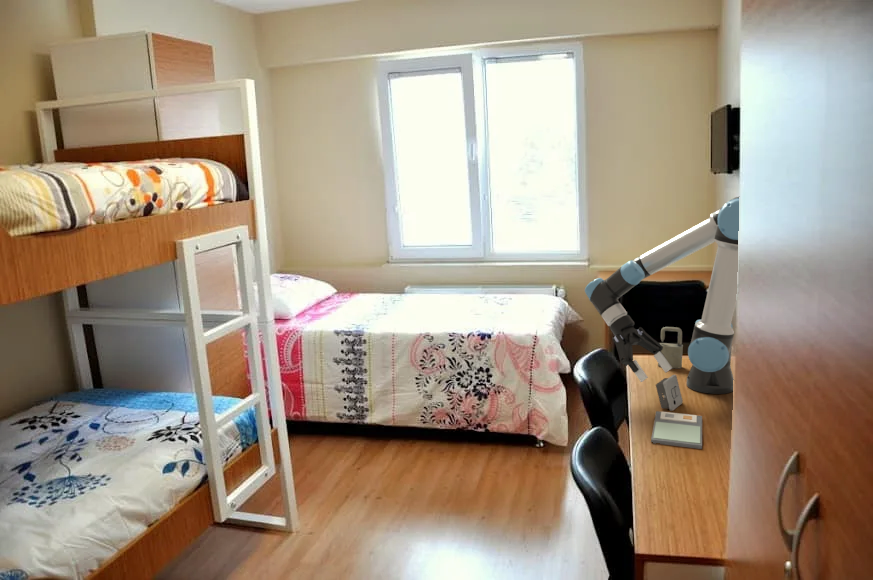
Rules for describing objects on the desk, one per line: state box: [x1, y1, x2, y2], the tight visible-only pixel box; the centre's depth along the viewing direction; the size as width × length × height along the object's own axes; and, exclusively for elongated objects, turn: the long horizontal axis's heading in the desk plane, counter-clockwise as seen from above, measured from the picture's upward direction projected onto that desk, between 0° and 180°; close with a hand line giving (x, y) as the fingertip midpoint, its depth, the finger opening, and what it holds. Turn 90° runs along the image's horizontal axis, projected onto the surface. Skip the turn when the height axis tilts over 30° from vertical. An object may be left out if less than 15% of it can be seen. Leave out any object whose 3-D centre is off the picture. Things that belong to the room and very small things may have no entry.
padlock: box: [657, 326, 684, 369], centre depth 248 cm, size 4×8×15 cm, turn 66°
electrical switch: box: [655, 374, 684, 412], centre depth 211 cm, size 9×5×9 cm, turn 141°
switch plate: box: [650, 410, 703, 450], centre depth 192 cm, size 22×13×1 cm, turn 159°
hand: (657, 375), depth 212 cm, fingers open, 13 cm apart
